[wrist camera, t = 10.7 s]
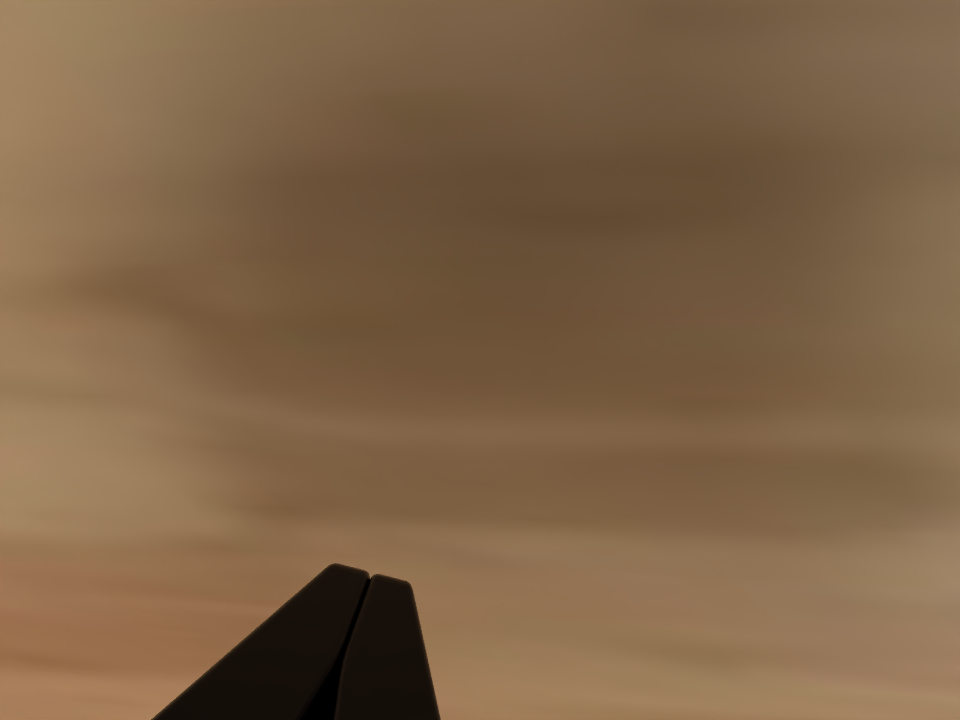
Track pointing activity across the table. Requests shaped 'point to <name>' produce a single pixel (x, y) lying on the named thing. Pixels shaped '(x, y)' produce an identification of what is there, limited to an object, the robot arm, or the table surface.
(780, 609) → the table surface
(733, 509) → the table surface
